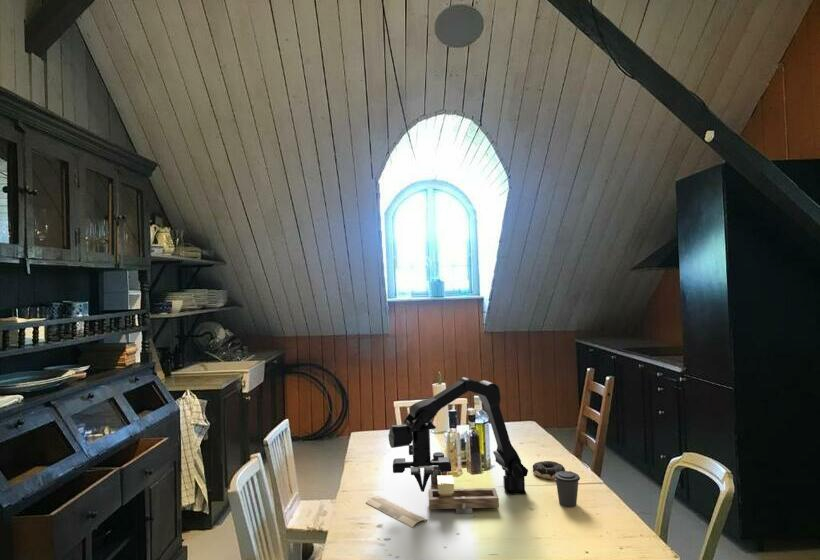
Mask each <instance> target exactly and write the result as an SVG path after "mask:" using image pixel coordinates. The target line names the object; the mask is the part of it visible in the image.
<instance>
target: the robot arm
mask: <svg viewBox="0 0 820 560" xmlns="http://www.w3.org/2000/svg"><path fill="white" fill-rule="evenodd" d="M469 392H470V393H471V392H472V393H474V394H477V397H478V398H479V399H480V401H481V402H482V404H483V406H484V407H485V409H486V412H487V415H488V418H489V419H488V420H489V421H490V425H491V430H492V431H493V436H494V439H495V441H496V450H493V451H492V452H493V455H494V457H495V462H496V463H497V464H498V465H499V466H501V469H502V470H503V471H504V475H503V476H502V477H503V489H504V491H505V493H506V494H507V495H526V494H527V491H526V487H525V486H526V484H525V482H526V481H525V479H526V478H525V477H527V476H528V472H529V469H528V468H527V467H525V465H523V463H522V460H521V458H520V456H519V454H518V451H516V450H515V448H514V447H513V445H512V443H511V440H510V436H509V432H508V430H507V426H506V423H505V420H504V419H505V418H504V417H503V413H502V410H501V398H502V396H501V389H500V387H499V385H498V384H495V383H493V382H490V381H488V380H480V381H478V380H475V379H471V378H468V377H461V378H460V379H459V380H458V381H456V382H454V383H453V384H452V385H450V386H448V387H446V388H445V389H444V390H442V391H440V392H439V393H437V394H435V395H433V396H431V397H430V398H427V399H422V400H420V401H418V402H417V401H416V402H414V403H413V404H412V405H411V406H410V408H409V413H408V414H407V416H405V419H404V420H403V424H392V425H390V430H389V432H388V443H389V446H390V448H391V449H393V448H394V449H395V448H402V447H408V455H409V456H412V461H406V458H405V457H404V458H403V457H401V458H394V459H393V461H392V462H393V463H392V473H393V474H402V473H404V472H405V471H406V469H410V475H411V476H414V477H415V479H416V482H417V484H418V486H419V489H420V492H422V493H423V492H425V489H426V486H427V483H428V481H429V478H431V475H433V474H434V473H433V469H434V467H439V470H440V471H441V472H447V473H449V472H451V471H452V461H451V458H450V457H448V456H444V457H438V461H431V460H432V457H431V433H430V432H431V431H430V430H434V429H436V428H437V426H436V425H435V424H433V423H432V420H433V419H434V418H435V417H436V416H437V414H438V413H439V411H441V409H444V408H445V407H446V406H447V405H450V404H451V403H452V402H454V401H456V400H458V398H460V397H461V396H463V395H464V394H467V393H469ZM423 468H424V469H423ZM421 469H423V477H422V474H421ZM422 479H423V480H422Z"/></svg>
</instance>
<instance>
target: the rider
mask: <svg viewBox="0 0 820 560" xmlns="http://www.w3.org/2000/svg"><path fill="white" fill-rule="evenodd" d="M437 483H438V488H437V489H438V493H439V496H440V497H452V493H454V489H455V484H454V483H455V482H454V477H453V475H447V476H437Z"/></svg>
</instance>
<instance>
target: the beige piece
mask: <svg viewBox="0 0 820 560" xmlns="http://www.w3.org/2000/svg"><path fill="white" fill-rule="evenodd" d="M365 504H366V505H369V506H370V507H372V508H374V509H376V510H378V511H380V512H381V513H383V514H386V515H388V516H389V517H391V518H394V519H395V520H398V521H399V522H401V523H403V524H404V525H407V526H409V527H411V528H412V529H413V528H414V526H415V525H416V524H418V523H419V522H422V521H423V522H428V519H427V518H425V517H423V516H421V515H419V514H417V513H414V512H413V511H411V510H408V509H406V508H404V507H403V506H400V505H399V504H396V503H394V502H392V501H390V500H388V499H386V498H384V497H382V496H378V495H377V496H372V497H371V498H369V499H367V501H365Z"/></svg>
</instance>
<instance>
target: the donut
mask: <svg viewBox="0 0 820 560" xmlns="http://www.w3.org/2000/svg"><path fill="white" fill-rule="evenodd" d="M560 471H566V468H565V467H564V466H563V464H561V463H559V462H556V461H551V460H542V461H538V462H537V461H536V462H535V463H534V464H533V465H532V473H533V474H534V475H535V476H537V477H539V478H542V479H545V480H556V478H555V477H554V475H555V473H557V472H560Z"/></svg>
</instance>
